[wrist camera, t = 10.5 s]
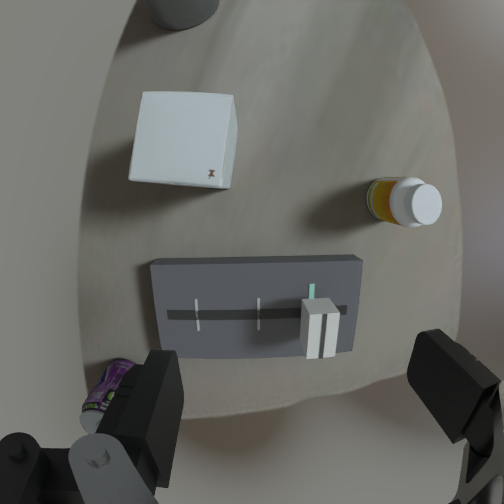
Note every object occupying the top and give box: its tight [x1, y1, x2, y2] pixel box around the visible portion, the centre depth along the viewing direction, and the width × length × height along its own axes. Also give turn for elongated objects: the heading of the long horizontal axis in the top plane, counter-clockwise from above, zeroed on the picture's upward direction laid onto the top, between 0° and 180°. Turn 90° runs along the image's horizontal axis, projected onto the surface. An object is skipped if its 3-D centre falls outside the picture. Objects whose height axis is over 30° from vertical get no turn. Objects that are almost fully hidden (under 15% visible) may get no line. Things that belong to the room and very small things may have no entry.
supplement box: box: [128, 91, 238, 189], centre depth 26 cm, size 7×7×13 cm
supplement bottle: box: [367, 177, 442, 228], centre depth 29 cm, size 5×5×10 cm
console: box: [150, 255, 363, 359], centre depth 34 cm, size 12×24×3 cm, turn 91°
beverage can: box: [80, 360, 135, 434], centre depth 32 cm, size 7×7×12 cm
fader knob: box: [300, 298, 340, 359], centre depth 30 cm, size 5×3×6 cm, turn 1°
